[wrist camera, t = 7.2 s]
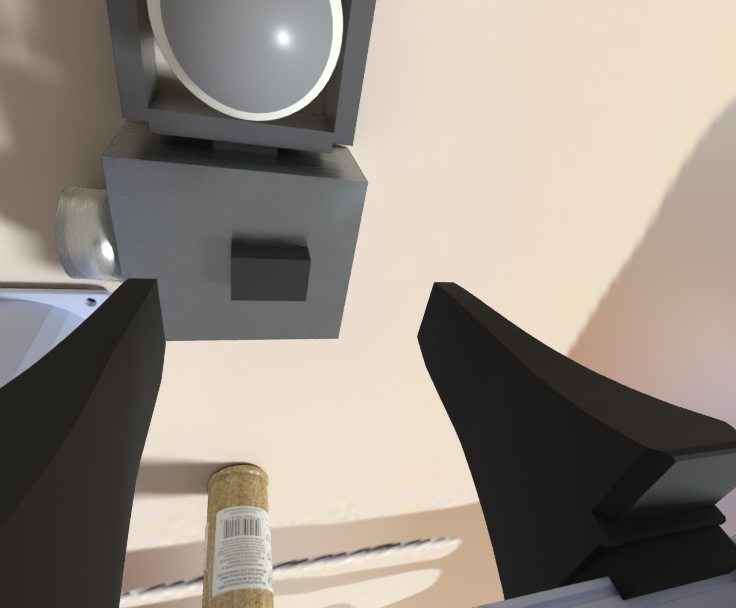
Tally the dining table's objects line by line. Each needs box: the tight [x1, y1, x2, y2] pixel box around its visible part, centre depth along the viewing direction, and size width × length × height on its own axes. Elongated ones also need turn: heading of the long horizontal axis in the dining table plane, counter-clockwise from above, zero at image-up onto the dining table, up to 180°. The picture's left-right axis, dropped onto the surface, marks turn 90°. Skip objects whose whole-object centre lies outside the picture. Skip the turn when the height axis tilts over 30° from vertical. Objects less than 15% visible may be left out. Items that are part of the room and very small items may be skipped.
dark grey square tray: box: [106, 0, 376, 155], centre depth 15 cm, size 8×9×2 cm
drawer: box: [56, 122, 368, 341], centre depth 18 cm, size 11×8×5 cm
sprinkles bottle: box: [202, 465, 274, 608], centre depth 28 cm, size 5×5×14 cm
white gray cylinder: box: [147, 0, 343, 121], centre depth 13 cm, size 5×5×7 cm
